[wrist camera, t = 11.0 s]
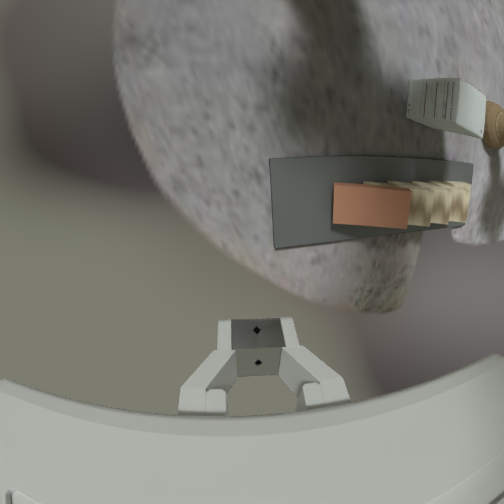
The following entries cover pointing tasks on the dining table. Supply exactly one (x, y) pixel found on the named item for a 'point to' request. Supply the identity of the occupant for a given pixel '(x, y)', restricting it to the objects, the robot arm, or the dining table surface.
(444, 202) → the domino
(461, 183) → the domino
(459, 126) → the supplement box
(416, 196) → the domino
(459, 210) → the domino
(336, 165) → the mat
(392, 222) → the domino
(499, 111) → the oil lamp
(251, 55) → the dining table surface
